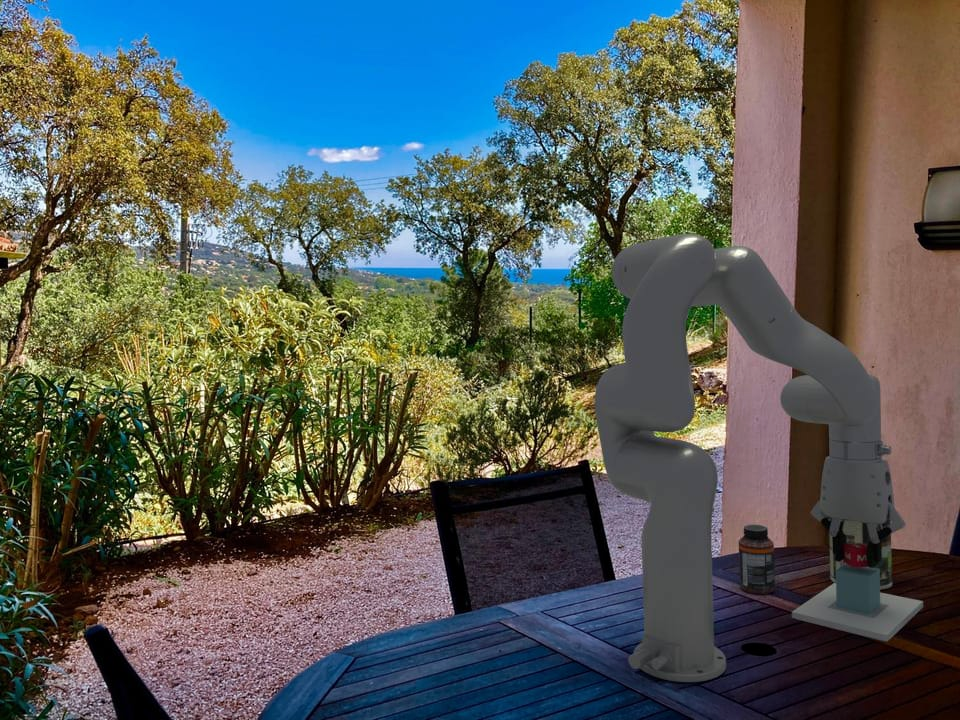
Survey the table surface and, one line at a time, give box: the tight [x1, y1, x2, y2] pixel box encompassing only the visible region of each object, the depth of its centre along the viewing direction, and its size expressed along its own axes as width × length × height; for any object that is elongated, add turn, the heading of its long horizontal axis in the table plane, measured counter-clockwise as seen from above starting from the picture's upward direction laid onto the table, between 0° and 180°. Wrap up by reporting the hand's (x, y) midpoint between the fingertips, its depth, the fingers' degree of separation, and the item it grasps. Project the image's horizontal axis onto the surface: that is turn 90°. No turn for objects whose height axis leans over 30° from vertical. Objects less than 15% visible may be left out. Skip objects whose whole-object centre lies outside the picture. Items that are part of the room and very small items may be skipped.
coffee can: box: [828, 518, 893, 591], centre depth 134 cm, size 10×10×14 cm
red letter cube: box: [843, 543, 869, 568], centre depth 119 cm, size 3×3×3 cm
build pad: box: [791, 582, 924, 643], centre depth 120 cm, size 18×14×1 cm
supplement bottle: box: [738, 524, 776, 595], centre depth 132 cm, size 6×6×11 cm
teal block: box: [836, 564, 881, 614], centre depth 120 cm, size 5×5×6 cm
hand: (856, 561), depth 119 cm, fingers closed on red letter cube, 4 cm apart
